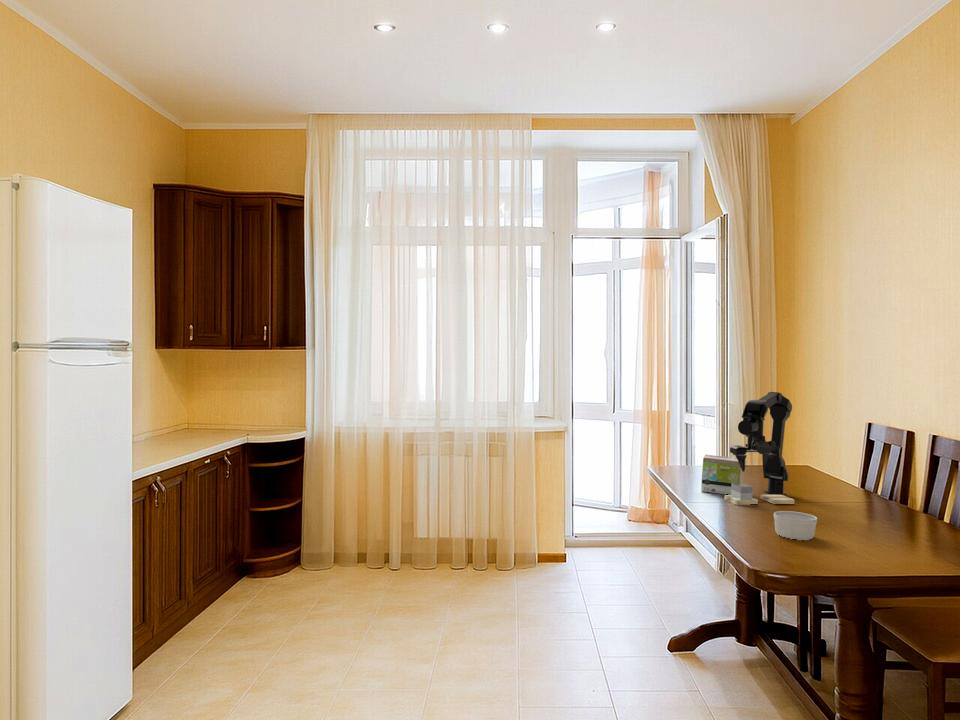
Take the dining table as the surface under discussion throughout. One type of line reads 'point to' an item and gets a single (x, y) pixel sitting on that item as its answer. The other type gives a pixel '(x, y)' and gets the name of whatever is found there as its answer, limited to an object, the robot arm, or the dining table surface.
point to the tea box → (719, 474)
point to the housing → (741, 491)
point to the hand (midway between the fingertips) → (753, 471)
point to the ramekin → (795, 525)
